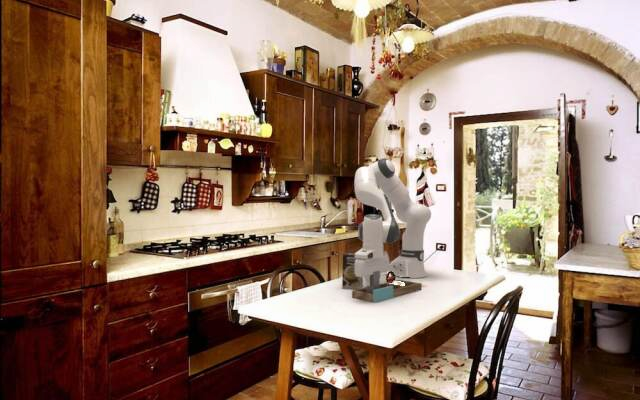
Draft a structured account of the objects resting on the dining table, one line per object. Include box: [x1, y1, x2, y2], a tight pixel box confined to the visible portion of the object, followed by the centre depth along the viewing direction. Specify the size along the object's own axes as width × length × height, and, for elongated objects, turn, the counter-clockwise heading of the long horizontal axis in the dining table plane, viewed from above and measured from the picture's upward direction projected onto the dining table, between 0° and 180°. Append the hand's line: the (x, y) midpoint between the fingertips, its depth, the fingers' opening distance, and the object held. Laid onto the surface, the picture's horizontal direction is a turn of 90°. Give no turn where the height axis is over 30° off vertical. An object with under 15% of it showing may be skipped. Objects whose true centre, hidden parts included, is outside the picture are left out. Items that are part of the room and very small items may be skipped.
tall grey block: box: [365, 271, 381, 294], centre depth 196 cm, size 4×4×10 cm
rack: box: [351, 279, 422, 304], centre depth 204 cm, size 12×35×5 cm, turn 135°
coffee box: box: [341, 252, 364, 290], centre depth 216 cm, size 9×6×16 cm
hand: (372, 284), depth 196 cm, fingers closed on tall grey block, 4 cm apart
